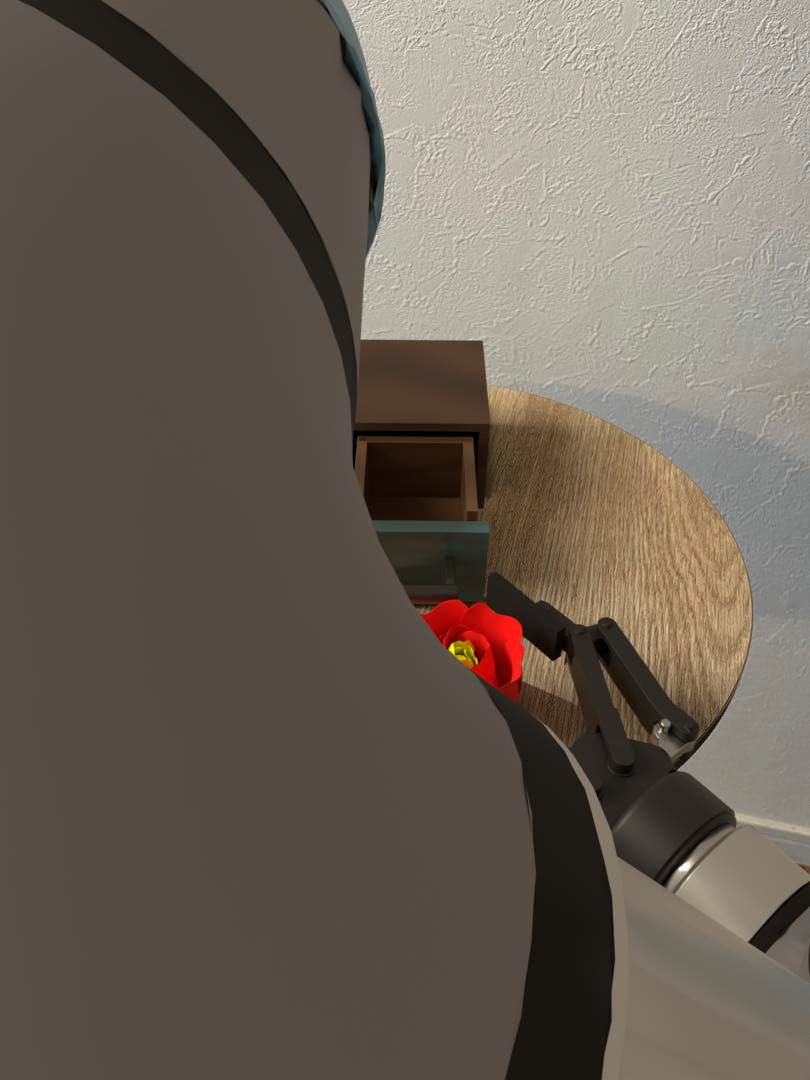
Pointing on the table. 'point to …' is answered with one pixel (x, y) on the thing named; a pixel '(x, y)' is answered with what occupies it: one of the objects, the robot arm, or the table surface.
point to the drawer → (426, 514)
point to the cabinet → (425, 394)
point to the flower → (481, 642)
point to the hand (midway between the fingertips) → (424, 626)
